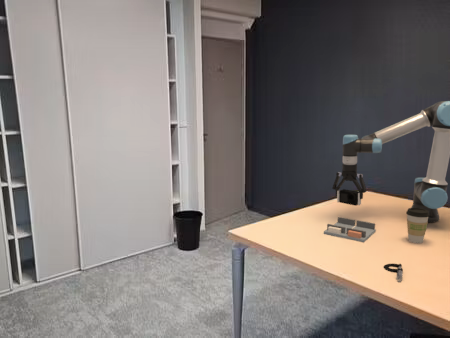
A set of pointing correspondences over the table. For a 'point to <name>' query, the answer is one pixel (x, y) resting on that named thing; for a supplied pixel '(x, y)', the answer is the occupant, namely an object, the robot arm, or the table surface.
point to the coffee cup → (417, 224)
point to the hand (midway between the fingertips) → (348, 203)
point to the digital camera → (349, 197)
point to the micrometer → (395, 270)
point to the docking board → (351, 229)
